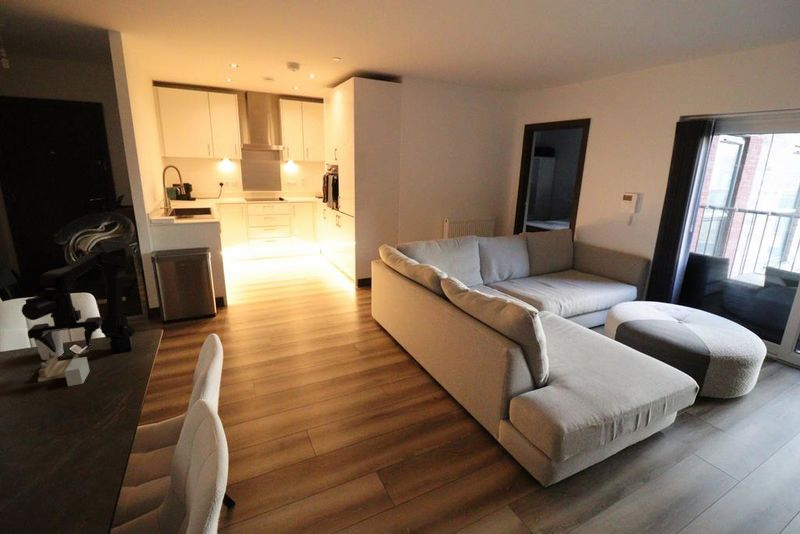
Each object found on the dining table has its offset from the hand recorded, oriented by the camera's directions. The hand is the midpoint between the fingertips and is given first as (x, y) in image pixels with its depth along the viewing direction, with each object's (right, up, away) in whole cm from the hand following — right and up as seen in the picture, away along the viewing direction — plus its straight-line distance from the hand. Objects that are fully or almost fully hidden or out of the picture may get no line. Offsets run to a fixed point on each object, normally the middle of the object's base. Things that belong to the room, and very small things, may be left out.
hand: (72, 349), depth 130 cm
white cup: (-23, -7, +18) cm, 30 cm away
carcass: (-10, -10, +8) cm, 16 cm away
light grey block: (0, -11, +3) cm, 12 cm away
